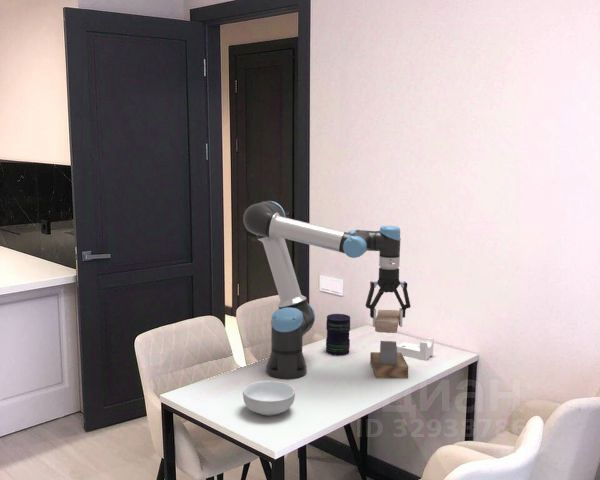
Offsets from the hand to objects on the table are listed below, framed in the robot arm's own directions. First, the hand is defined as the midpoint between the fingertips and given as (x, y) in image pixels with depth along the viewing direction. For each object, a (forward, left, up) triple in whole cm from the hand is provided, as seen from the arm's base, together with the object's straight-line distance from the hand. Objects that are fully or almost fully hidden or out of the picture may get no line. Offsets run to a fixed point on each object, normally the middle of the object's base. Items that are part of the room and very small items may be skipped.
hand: (387, 325), depth 248 cm
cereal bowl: (-45, -36, -18) cm, 60 cm away
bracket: (+15, +18, -18) cm, 30 cm away
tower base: (+1, 0, -18) cm, 18 cm away
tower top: (+1, +1, -13) cm, 13 cm away
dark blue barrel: (-16, +22, -18) cm, 33 cm away
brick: (0, 0, -1) cm, 1 cm away
